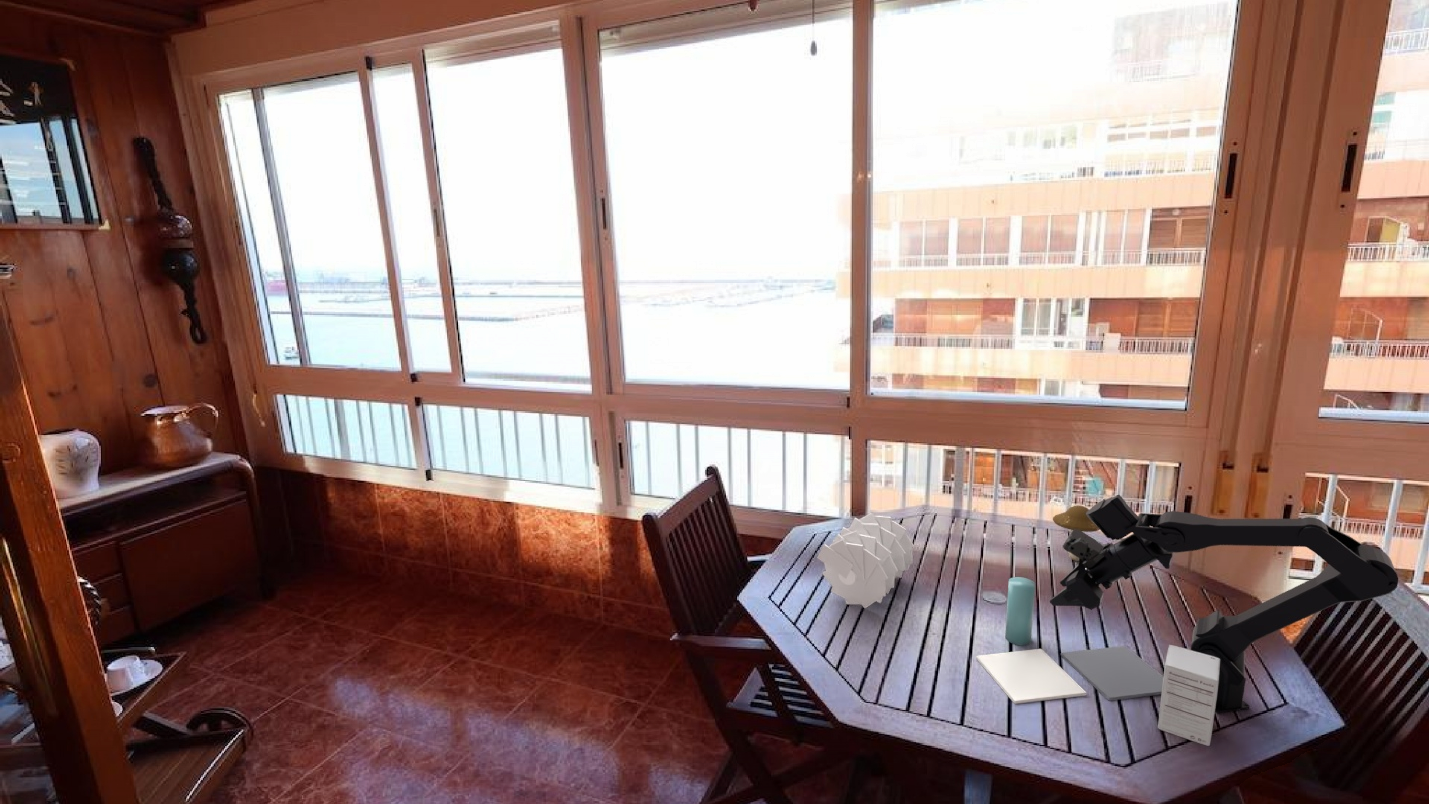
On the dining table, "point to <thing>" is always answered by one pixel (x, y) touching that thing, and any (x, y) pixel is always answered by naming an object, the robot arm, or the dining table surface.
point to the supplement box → (1189, 694)
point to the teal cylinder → (1020, 611)
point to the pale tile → (1030, 676)
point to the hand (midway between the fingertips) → (1056, 593)
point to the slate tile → (1116, 672)
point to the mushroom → (1075, 522)
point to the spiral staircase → (867, 559)
